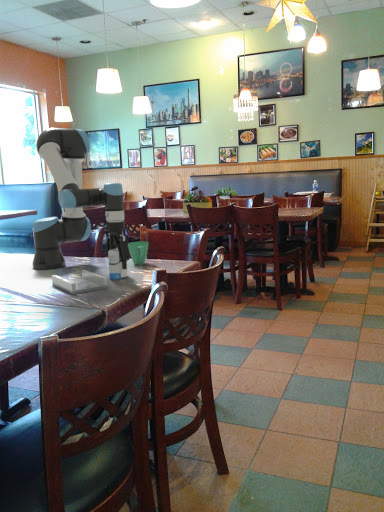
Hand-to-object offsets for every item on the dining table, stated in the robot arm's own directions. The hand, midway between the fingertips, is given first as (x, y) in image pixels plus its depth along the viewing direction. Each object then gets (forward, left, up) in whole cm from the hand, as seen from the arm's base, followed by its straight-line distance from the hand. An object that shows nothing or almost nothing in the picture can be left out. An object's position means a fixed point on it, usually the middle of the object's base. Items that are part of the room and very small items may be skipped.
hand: (118, 274), depth 186 cm
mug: (-18, +21, -1) cm, 28 cm away
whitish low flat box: (+4, -19, -1) cm, 19 cm away
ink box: (0, 0, -1) cm, 1 cm away
